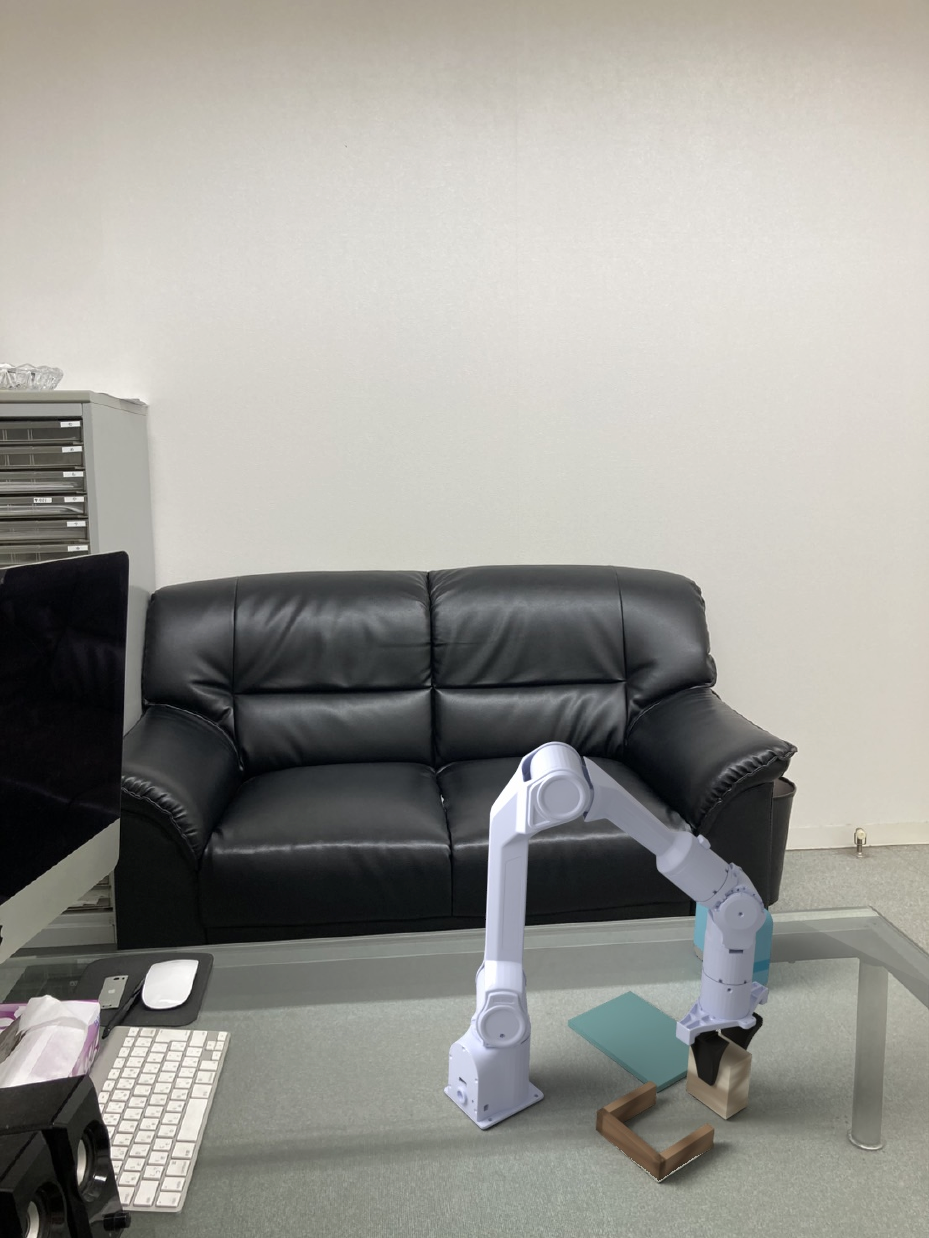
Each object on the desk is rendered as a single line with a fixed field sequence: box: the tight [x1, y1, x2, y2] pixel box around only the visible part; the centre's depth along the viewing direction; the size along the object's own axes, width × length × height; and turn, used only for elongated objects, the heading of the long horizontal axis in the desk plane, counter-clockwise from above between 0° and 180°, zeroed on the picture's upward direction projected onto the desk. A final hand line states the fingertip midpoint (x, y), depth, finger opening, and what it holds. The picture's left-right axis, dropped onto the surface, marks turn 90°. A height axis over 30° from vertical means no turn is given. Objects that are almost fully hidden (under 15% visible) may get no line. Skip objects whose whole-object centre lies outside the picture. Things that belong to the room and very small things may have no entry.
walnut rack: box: [595, 1081, 715, 1181], centre depth 107 cm, size 9×10×2 cm
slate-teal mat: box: [567, 990, 690, 1094], centre depth 125 cm, size 12×16×1 cm
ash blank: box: [685, 1032, 753, 1120], centre depth 113 cm, size 4×6×7 cm, turn 36°
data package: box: [693, 902, 774, 986], centre depth 140 cm, size 12×4×12 cm, turn 23°
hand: (718, 1073), depth 113 cm, fingers closed on ash blank, 4 cm apart
